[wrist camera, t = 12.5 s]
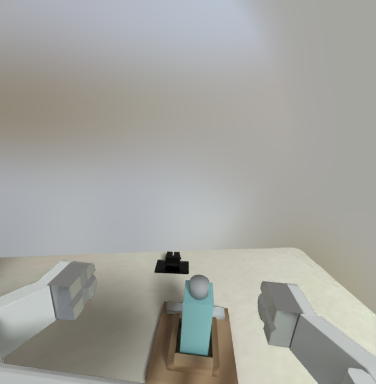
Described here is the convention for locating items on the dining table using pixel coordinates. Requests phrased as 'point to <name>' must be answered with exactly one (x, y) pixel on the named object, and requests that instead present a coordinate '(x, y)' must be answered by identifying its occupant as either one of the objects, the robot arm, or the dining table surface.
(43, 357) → the dining table surface
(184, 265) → the black block on base
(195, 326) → the teal bottle
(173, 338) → the jig
